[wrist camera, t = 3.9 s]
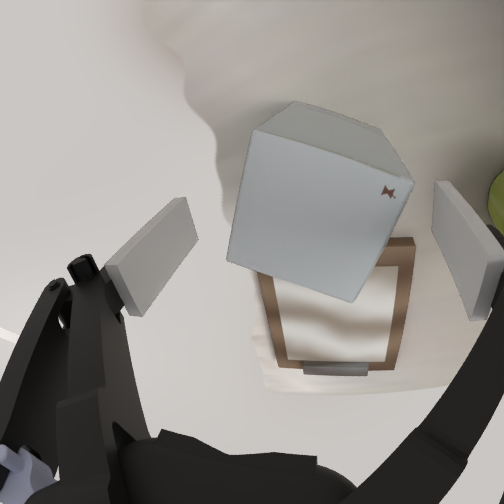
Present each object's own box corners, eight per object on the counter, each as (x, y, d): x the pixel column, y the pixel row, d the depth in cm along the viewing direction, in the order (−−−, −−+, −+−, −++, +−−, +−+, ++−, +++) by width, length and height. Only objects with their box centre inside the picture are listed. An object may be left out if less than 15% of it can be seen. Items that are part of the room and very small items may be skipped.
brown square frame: (256, 241, 30) (249, 255, 28) (412, 237, 25) (417, 252, 23) (280, 358, 39) (277, 373, 37) (393, 360, 34) (394, 376, 32)
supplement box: (293, 98, 22) (251, 121, 11) (383, 129, 21) (422, 183, 11) (272, 179, 26) (221, 262, 16) (352, 207, 25) (355, 308, 15)
